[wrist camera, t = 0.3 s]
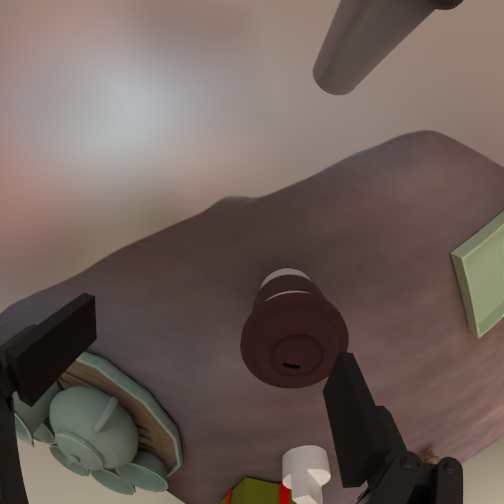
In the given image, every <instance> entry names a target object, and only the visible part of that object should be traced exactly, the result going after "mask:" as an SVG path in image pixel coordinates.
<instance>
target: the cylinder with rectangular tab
mask: <svg viewBox="0 0 504 504" xmlns="http://www.w3.org/2000/svg"><path fill="white" fill-rule="evenodd" d="M282 474H283V485H284V486H285V487H287V488H289V489H292V500H293V501H295V502H296V503H297V504H323V498H322V490H321V486H322V485H324V484H326V483H327V482H328V481H329V480H330V477H331V476H330V469H329V463H328V458H327V453H326V451H325V450H324V449H323V448H321V447H318V446H311V445H307V446H300V447H296V448H293V449H291V450H289V451H287V452H286V453H285V454H284V455H283V457H282Z"/></svg>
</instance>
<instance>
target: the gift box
mask: <svg viewBox="0 0 504 504" xmlns="http://www.w3.org/2000/svg"><path fill="white" fill-rule="evenodd" d="M219 504H297V503H296V502H295V501H293V500H292V489H289V488H287V487H285V486H284V485H283V483H278V484H275V483H270V482H265V481H260V480H256V479H251V478H247V477H246V478H245V479H244V480H243V481H242V482H241V483H240V484H239V485H237V486H236V487H235V488H232V489H231V490H230V491H229V492H228V494H227V496H226V497H225V498H224V499H222V500H221V501H220V503H219Z"/></svg>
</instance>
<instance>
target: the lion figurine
mask: <svg viewBox="0 0 504 504" xmlns="http://www.w3.org/2000/svg"><path fill="white" fill-rule="evenodd" d="M431 451H432V448H430V449H428V453H429V455H430V457H428V458H427V459H426V460H425V459H424V455H423V453H419V454H418V456H419V457H420V459H421V460H422V462H423V463H431V464H437V463H438V462H439V461H440V458H439V457H438V456H435V455H434V454H433V453H432V452H431Z"/></svg>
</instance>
